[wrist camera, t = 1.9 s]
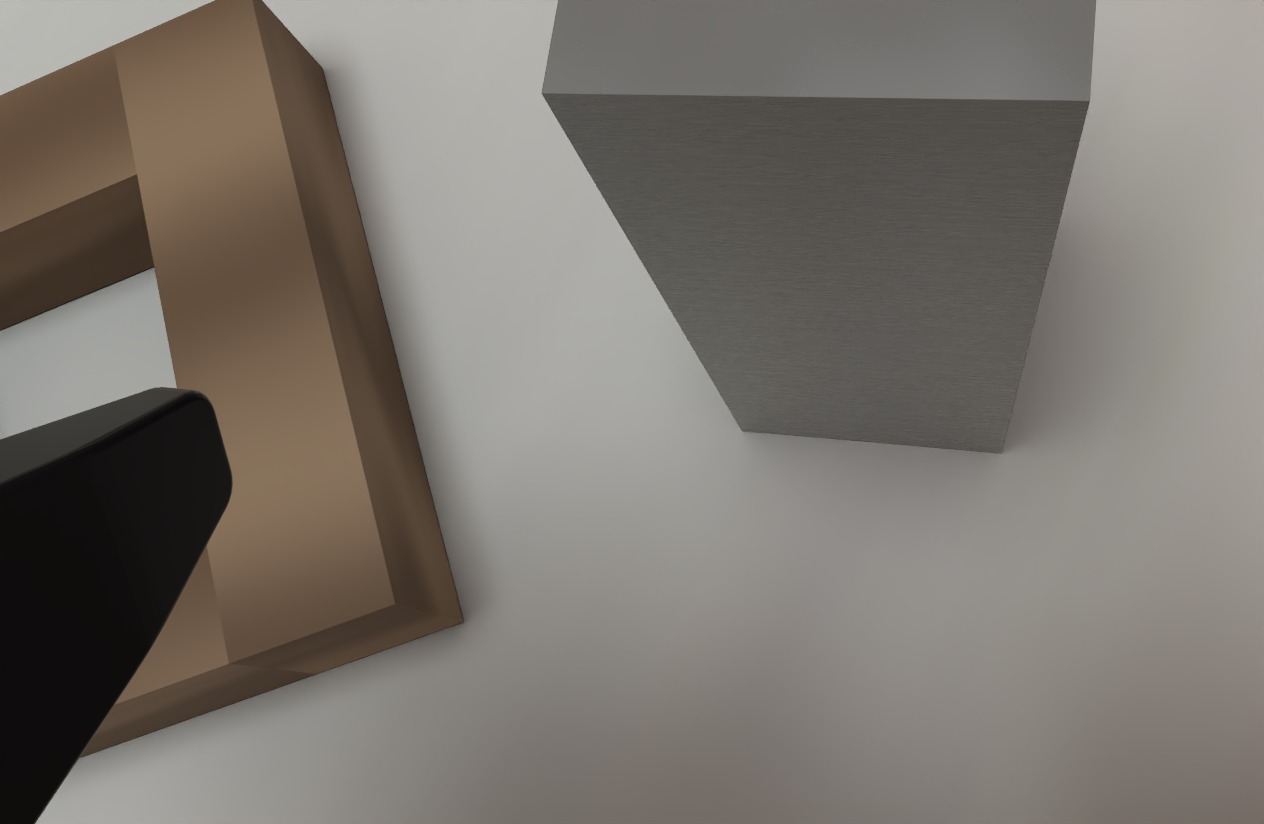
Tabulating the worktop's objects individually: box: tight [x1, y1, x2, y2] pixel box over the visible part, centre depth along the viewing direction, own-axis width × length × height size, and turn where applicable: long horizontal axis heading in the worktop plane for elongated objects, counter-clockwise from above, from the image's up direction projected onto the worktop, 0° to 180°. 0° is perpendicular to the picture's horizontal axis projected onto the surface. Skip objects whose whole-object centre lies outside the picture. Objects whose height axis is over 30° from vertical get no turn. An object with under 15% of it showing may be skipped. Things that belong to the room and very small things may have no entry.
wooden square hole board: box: [0, 0, 463, 758], centre depth 23 cm, size 12×12×3 cm
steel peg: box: [542, 0, 1096, 453], centre depth 16 cm, size 4×4×12 cm
